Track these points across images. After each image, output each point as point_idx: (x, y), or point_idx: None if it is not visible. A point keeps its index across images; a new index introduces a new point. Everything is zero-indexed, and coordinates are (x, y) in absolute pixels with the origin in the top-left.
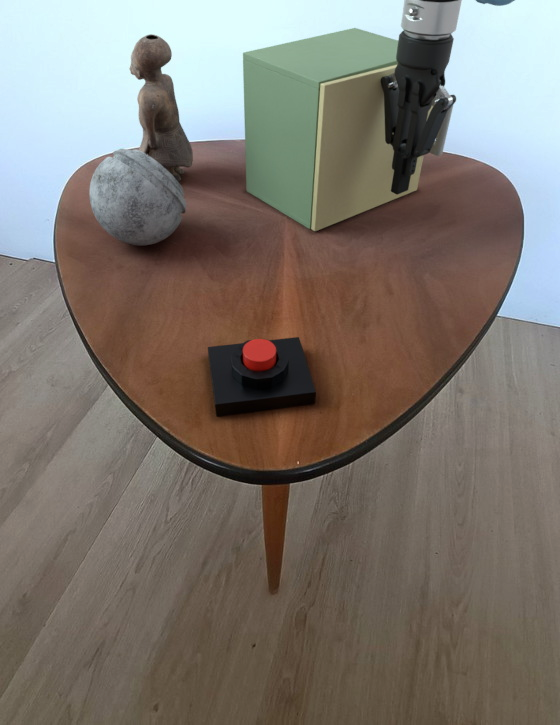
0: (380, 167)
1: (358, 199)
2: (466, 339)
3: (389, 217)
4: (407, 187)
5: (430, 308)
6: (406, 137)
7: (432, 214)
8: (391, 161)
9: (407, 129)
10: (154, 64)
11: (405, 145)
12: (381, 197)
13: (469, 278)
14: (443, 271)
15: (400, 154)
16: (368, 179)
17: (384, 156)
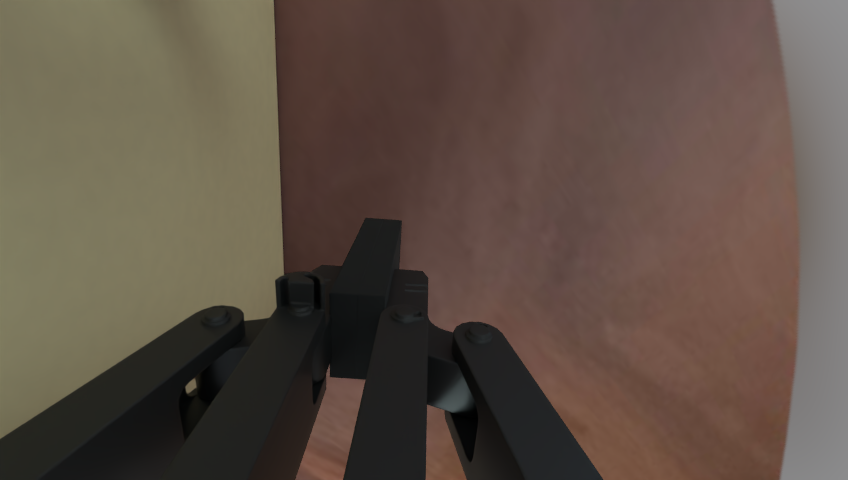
0: (212, 210)
1: (264, 269)
2: (780, 434)
3: (353, 177)
4: (400, 232)
5: (676, 412)
6: (310, 381)
7: (435, 40)
8: (200, 139)
9: (291, 426)
10: None
11: (323, 341)
12: (268, 145)
13: (706, 264)
14: (635, 287)
15: (350, 372)
16: (234, 258)
17: (184, 208)
